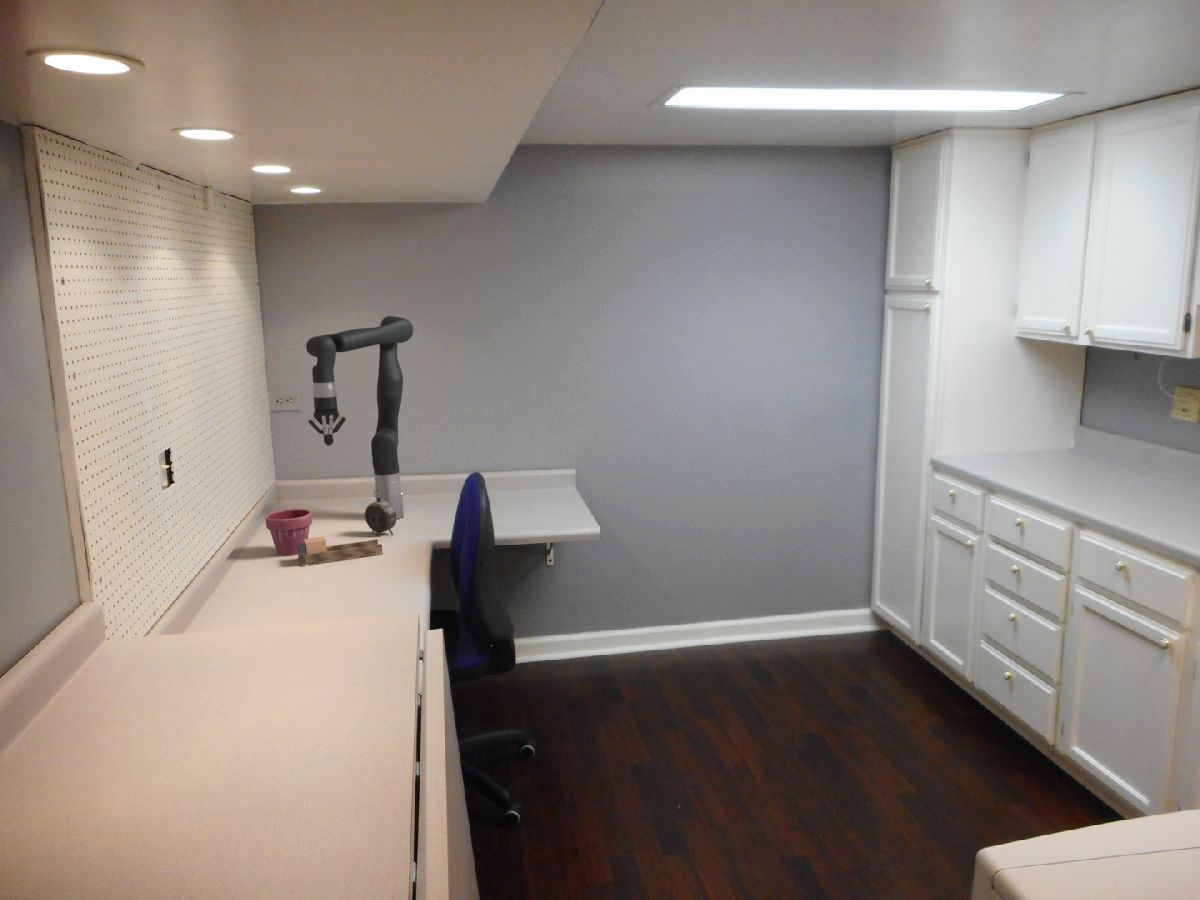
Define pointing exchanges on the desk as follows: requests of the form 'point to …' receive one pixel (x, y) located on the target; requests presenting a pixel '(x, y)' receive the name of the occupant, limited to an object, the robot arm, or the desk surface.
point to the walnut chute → (340, 552)
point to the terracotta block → (315, 545)
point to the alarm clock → (380, 516)
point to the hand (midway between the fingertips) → (328, 445)
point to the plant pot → (289, 529)
